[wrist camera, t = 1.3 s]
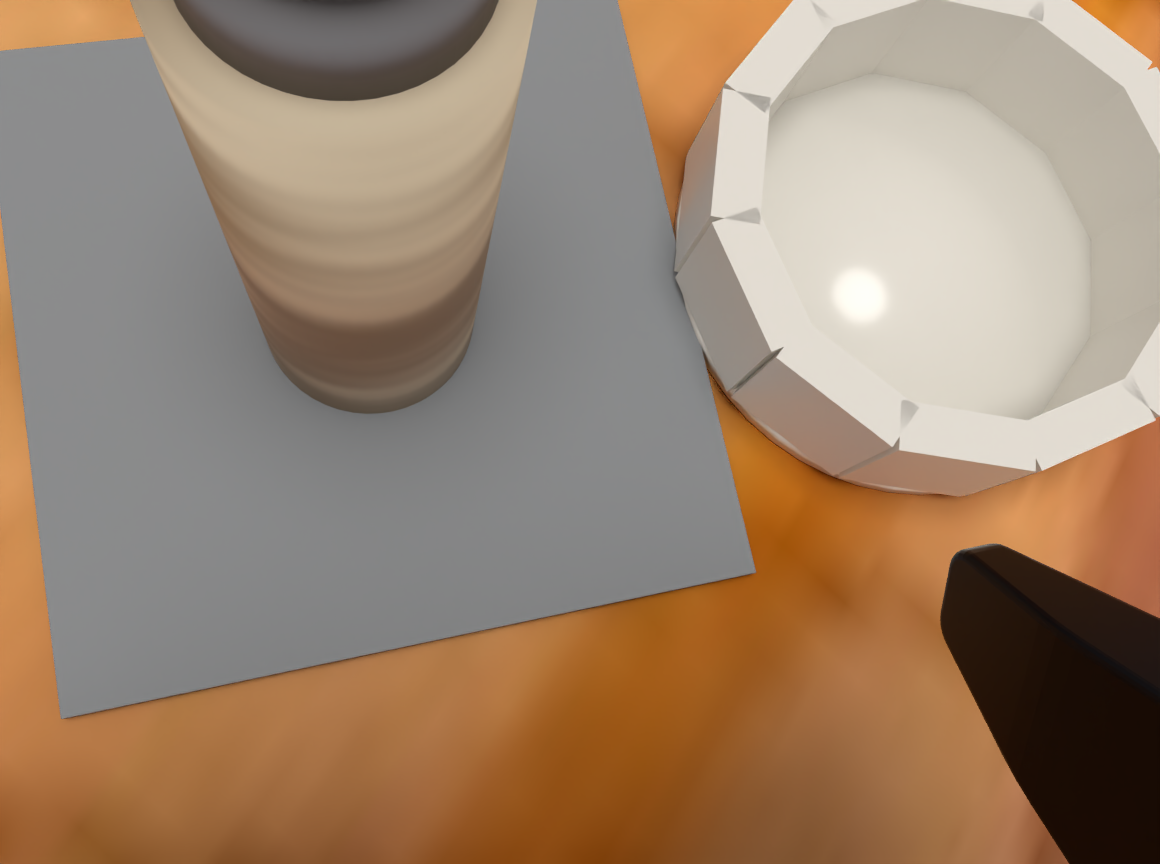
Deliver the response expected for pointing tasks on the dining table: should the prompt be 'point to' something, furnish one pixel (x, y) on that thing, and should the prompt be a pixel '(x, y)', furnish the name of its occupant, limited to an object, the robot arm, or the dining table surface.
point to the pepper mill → (350, 172)
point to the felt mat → (335, 437)
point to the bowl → (930, 239)
